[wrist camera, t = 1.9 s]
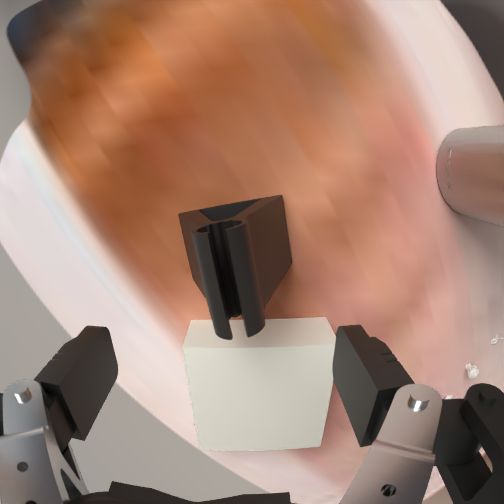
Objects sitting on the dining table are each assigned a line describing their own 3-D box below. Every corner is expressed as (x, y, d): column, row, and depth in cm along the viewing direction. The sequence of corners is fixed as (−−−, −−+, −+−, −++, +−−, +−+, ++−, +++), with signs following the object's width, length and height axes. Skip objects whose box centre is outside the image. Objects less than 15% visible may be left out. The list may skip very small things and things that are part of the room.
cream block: (325, 316, 29) (339, 343, 24) (312, 416, 33) (320, 446, 28) (191, 319, 29) (182, 347, 24) (204, 419, 33) (200, 450, 28)
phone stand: (193, 277, 28) (161, 348, 16) (179, 212, 26) (131, 246, 15) (291, 261, 28) (321, 325, 16) (281, 194, 26) (310, 215, 15)
